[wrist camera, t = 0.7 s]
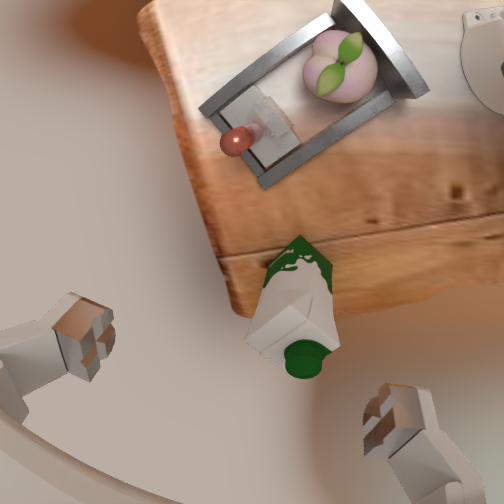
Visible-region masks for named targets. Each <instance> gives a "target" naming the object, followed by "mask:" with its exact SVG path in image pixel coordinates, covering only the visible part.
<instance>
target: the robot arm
mask: <svg viewBox="0 0 504 504" xmlns="http://www.w3.org/2000/svg"><path fill="white" fill-rule="evenodd" d="M475 16H477V18H478V20H477V19H476V17H475ZM463 23H464V29H465V33H464V38H463V41H462V46H461V61H462V67H463V70H464V74H465V77H466V79H467V81H468V83H469V85H470V87H471V89H472V91H473V92H474V94H475V95H476V96H477V98H478V99H479V100H480V101H481V102H482V103H483V104H484V105H485V106H486V107H488V108H489V109H491V110H492V111H494V112H496V113H499V114H502V115H504V6H502V7H494V8H486V9H480V10H474V11H468V12H465V13H464V14H463ZM113 319H114V317H113V311H112V310H111V309H110V308H107V307H105V306H103V305H101V304H98V303H96V302H94V301H91V300H89V299H87V298H84V297H82V296H79V295H77V294H75V293H73V292H70V293H67V294H66V295H64V296H63V297H62V298H61V299H60V300H59V302H57V303H56V304H55V305H54V307H52V308H51V309H50V310H49V311H48V312H47V313H46V314H45V315H44V316H43V318H41V319H40V320H39V321H36V320H33V321H30V322H27V323H24V324H20V325H17V326H14V327H11V328H8V329H5V330H2V331H0V504H182V503H179V502H176V501H173V500H170V499H167V498H164V497H161V496H158V495H156V494H153V493H150V492H148V491H145V490H142V489H140V488H137V487H135V486H132V485H130V484H128V483H125V482H123V481H120V480H118V479H116V478H114V477H112V476H110V475H108V474H105V473H103V472H101V471H99V470H97V469H95V468H93V467H91V466H89V465H87V464H85V463H83V462H82V461H80V460H78V459H76V458H74V457H72V456H71V455H69V454H67V453H65V452H63V451H62V450H60V449H58V448H57V447H55V446H53V445H52V444H50V443H48V442H47V441H45V440H44V439H42V438H41V437H39V436H37V435H36V434H34V433H33V432H31V431H30V430H28V429H27V428H26V427H24V426H23V425H21V424H22V423H23V421H24V419H25V418H26V417H27V415H28V413H29V409H28V407H27V405H26V404H25V402H24V400H23V399H22V397H23V396H25V395H27V394H29V393H31V392H32V391H34V390H36V389H38V388H40V387H42V386H44V385H46V384H48V383H50V382H52V381H54V380H56V379H58V378H60V377H61V376H63V375H65V374H67V372H69V373H71V374H73V375H75V376H77V377H79V378H82V379H84V380H86V381H88V382H91V380H92V379H93V377H94V376H95V374H96V373H97V372H98V370H99V369H100V360H102V359H104V358H107V357H108V356H109V354H110V352H111V351H112V348H113V345H114V343H115V336H116V335H115V329H114V327H113V326H112V325H111V322H112V320H113ZM363 428H364V429H365V430H366V432H367V433H368V434H367V435H366V436H365V438H364V439H363V443H364V457H369V458H381V459H388V462H389V464H390V466H391V468H392V469H393V471H394V473H395V475H396V476H397V478H398V480H399V482H400V483H401V485H402V487H403V489H404V491H405V492H406V494H407V496H408V498H409V499H410V501H411V503H412V504H486V497H485V491H484V485H483V480H482V477H481V476H480V474H479V473H478V472H477V471H476V469H475V468H474V467H473V466H472V465H471V463H470V462H469V461H468V460H467V458H466V457H465V456H464V455H463V454H462V452H461V451H460V450H459V449H458V448H457V447H456V445H455V444H454V443H453V442H452V441H451V440H450V438H449V437H448V436H447V435H446V434H445V432H444V431H442V430H439V426H438V421H437V417H436V413H435V409H434V404H433V400H432V397H431V393H430V390H429V389H428V388H423V387H413V386H407V385H399V384H391V383H384V384H383V385H382V386H381V387H380V388H379V389H378V396H376V397H374V398H372V399H371V400H370V401H369V403H368V404H367V405H366V408H365V410H364V413H363Z"/></svg>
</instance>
